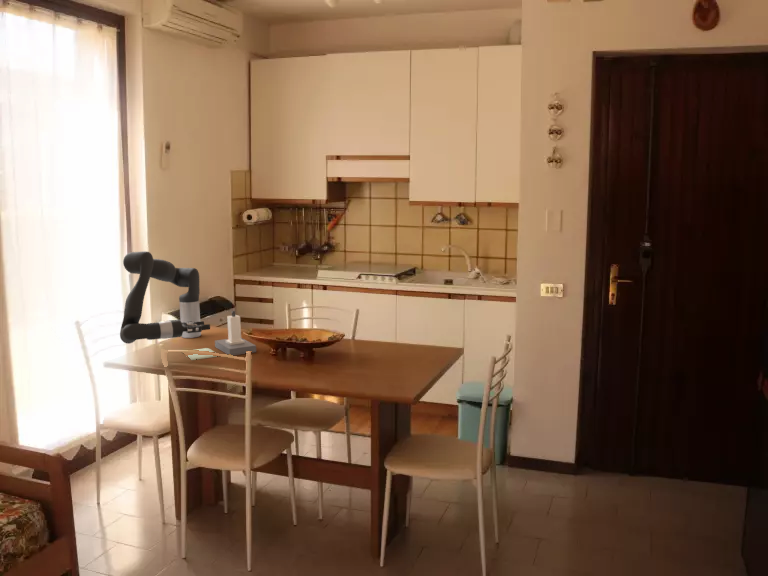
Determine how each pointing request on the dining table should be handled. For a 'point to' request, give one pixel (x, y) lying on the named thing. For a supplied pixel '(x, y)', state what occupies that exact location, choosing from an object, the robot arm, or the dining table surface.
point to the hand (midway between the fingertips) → (206, 325)
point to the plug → (234, 330)
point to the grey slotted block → (235, 347)
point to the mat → (196, 356)
